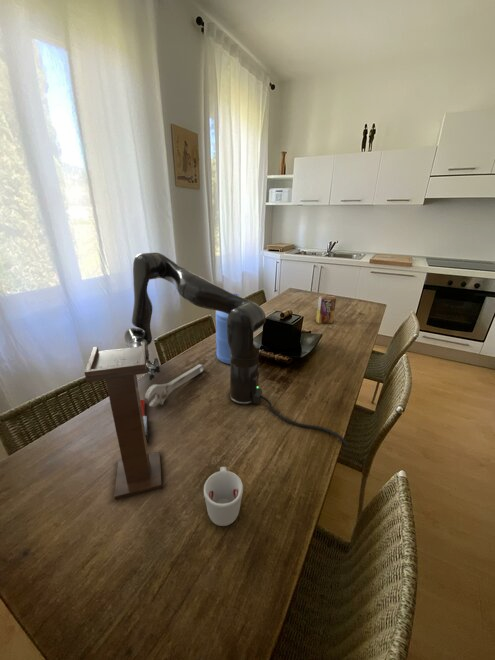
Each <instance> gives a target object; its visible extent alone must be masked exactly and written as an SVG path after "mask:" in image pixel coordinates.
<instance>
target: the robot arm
mask: <svg viewBox="0 0 495 660" xmlns="http://www.w3.org/2000/svg"><path fill="white" fill-rule="evenodd" d="M132 276H133V277H132V281H133V283H132V284H133V285H132V286H133V309H132V315H131V323H132V325H133V326H134V327H130V328H127V329H126V330H125V332H124V342H125V344H126V346H127V348H131V347H139V346H141V342H145V345H146V374H147V375H149V381H151V382H152V381H153V380H154V379H155V374H156V373H157V374H159V373H160V372H161V368H160V361H159V358H158V357H155V358H154V360H150V352H149V346H150V345H151V344H152V341H153V334H152V329H151V323H152V315H153V303H152V300H151V298H150V296H149V292H148V286H149V281H150V280H151V281H152V280H156V279H162V280H165V281H168V282H169V283H171V284H173V286H174V287H175V289H176V291H177V293H178V295H179V296H180V297H181V298H182V299H184V300H185V301H187V302H189V303H191V304H192V305H194V306H196V307H199V308H201V309H207V310H211V311H221V312H224V313H227V314H228V318H227V336H228V345H229V347H230V364H229V374H230V375H229V377H230V378H229V398H230V400H231V401H232V402H233V403H235V404H237V405H241V406H242V405H243V406H247V405H252V404H253V405H254V404H256V405H257V404H258V405H260V403H261V399H262V400H264V402H266V403H267V404H268V407H269V409H270V410H271V412H273V414H274V415H276V416H277V417H278V418H280V420H283V421H285V422H287V423H289V424H292V425H295V426H297V427H301V428H307V429H308V428H309V429H314V430H320V431H323V432H326V433H328V434H331V435H332V436H335V437H336V438H338V439H339V440H340V441H341V442H342V444H343V445H344V446H345V447H348V446H349V444H348V442H347V441H346V440H345V439H344V438H343V437H342V436H341V435H340V434H339V433H337V432H336V431H333V430H331V429H327V428H325V427H323V426H319V425H312V424H305V423H300V422H297V421H294V420H291V419H289V418H286V417H285V416H283V415H281V414H280V413H278V412H277V410H275V409H274V407H273V406H272V403H271V401H270V400H269V399H268V398H267V397H266V396H263V394H262V393H263V389H262V388H259V381H260V370H259V360H260V345H259V344H258V342H257V341H255V340H254V333H255V332H256V331H258V330H259V329H261V328H262V327H263V326H264V325H265V323H266V320H267V316H266V313H265V311H264V309H263V308H262V306H260V305H259V304H258V303H256V302H254V301H252V300H249V299H247V298H244V297H241V296H240V295H239V296H236V295H234V294H235V293H232V292H230V291H227V290H226V289H224V288H222V287H220V285H219V286H218V285H217V284H215V283H213V282H211V281H209V280H207V279H206V278H204V277H202V276H200V275H199V274H196V273H194V272H192V271H190V270H189V269H186V268H185V267H183V266H180V265H178V264H177V263H175V261H173V260H171V259H170V258H169V257H167V256H165V255H164V254H162V253H161V252H143V253H138V254H137V255H135V257H134V259H133V263H132Z"/></svg>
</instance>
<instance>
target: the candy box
mask: <svg viewBox="0 0 495 660" xmlns="http://www.w3.org/2000/svg"><path fill="white" fill-rule="evenodd" d="M336 302H337V297H336V296H334V295H325V296H324V295H322V296H321V295H320V296H318V302H317V310H316V318H315V322H316V323H317V324H333V323H334V316H335V310H336V309H335V307H336Z"/></svg>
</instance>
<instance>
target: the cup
mask: <svg viewBox="0 0 495 660" xmlns="http://www.w3.org/2000/svg"><path fill="white" fill-rule="evenodd" d="M243 493H244V485H243V482H242V480H241V478H240V476H239V475H237V474H236V473H234V472H233V471H229V470H228V469H227V466H220V468H219V471H216V472H214V473H213V474H211V475H210V476H208V478H207V479H206V481H205V482H204V485H203V496H204V502H205V507H206V512H207V515H208V518H209V519H210V521H211V522H212V523H213V524H215V525H216V526H220V527H226V526H229V525H232V524H233V523H234V522H235V521H236V520H237V518H238V516H239V514H240V509H241V505H242V504H241V503H242V498H243Z"/></svg>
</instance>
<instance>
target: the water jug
mask: <svg viewBox="0 0 495 660" xmlns="http://www.w3.org/2000/svg"><path fill="white" fill-rule="evenodd" d="M233 294H234V295H236V296H239V297H240V294H239V293H233ZM227 318H228V314H227V313H224V312H221V311H217V310H215V341H216V352H215V353H216V355H215V356H216V358H217V359H218V360H219V361H220V362H222V363H223V364H227V365H230V347H229V345H228V336H227Z"/></svg>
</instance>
